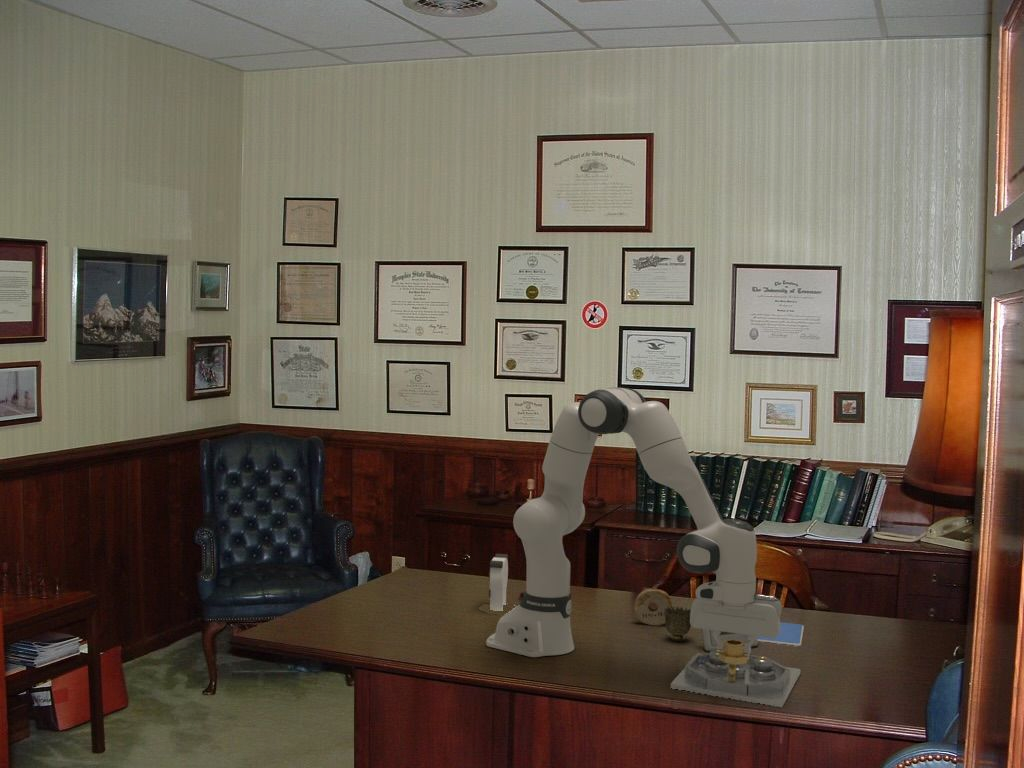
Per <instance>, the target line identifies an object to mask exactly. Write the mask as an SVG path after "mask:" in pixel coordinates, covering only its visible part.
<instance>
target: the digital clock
mask: <svg viewBox="0 0 1024 768" xmlns="http://www.w3.org/2000/svg"><path fill="white" fill-rule="evenodd" d="M700 631H701V635H702V642H703V643H702V644H703V647H704V650H705V651H707V652H710V651H711V650H716V649H717V642H716V640H715V638H714V636H713V630H707V629H700ZM719 636H720V638H721V640H722V641H725V640H731V639H733V640H740V641H742V642H744V643H745V644H747V645H748V644H749V642H750V641H751V640H749V639H748V635H744V634H737V633H729V632H722V631H721V633H720V634H719ZM758 644H759V642H758V640H757V636H756V639H755V641H754V642H753V644H752V645H751V648H752V647H756V646H757V645H758Z"/></svg>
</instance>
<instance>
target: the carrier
mask: <svg viewBox="0 0 1024 768" xmlns="http://www.w3.org/2000/svg"><path fill="white" fill-rule="evenodd" d="M720 651H721V650H717V649H716V650H711V651H709V653H698V652H697V654H695V655H693V656H692V658H690V660H689V661H688V662H687V663H686V664H685V665H684V668H683V669H682V670H681V672H679V674H678V675H677V676H676V677H675V678H674V679H673V680H672V682H671V683H670V689H671V688H672V689H671V690H675V689H678V690H677V691H681V690H686V691H685V692H687V691H690V692H689V693H693V692H695V693H694V694H698V693H701V694H700V695H704V694H707V695H706V696H710V695H711V696H712V697H716V696H718V697H717V698H722V697H723V699H728V698H731V699H730V700H734V699H735V700H734V701H740V700H741V702H745V701H746V702H747V703H751V702H752V703H753V704H757V703H760V704H759V705H763V704H765V705H764V706H769V705H770V707H775V708H781V709H782V708H783V707H784V705H785V703H786V701H787V700H788V698H789V695H790V694H791V692H792V690H793V688H794V686H795V684H796V683H797V681H798V679H799V677H800V675H801V669H800V668H796V667H795V668H794V667H788V666H784V665H783V664H780V663H778V662H776V661H775V660H773V659H772V658H771V657H768V656H764V655H754V654H749V661H748V662H747V663H746V664H737V665H736V664H729V663H724V662H722V661H721V660H719V659H718V655H719V652H720ZM711 696H710V697H711Z"/></svg>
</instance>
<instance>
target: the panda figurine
mask: <svg viewBox="0 0 1024 768" xmlns="http://www.w3.org/2000/svg"><path fill="white" fill-rule="evenodd" d="M508 559H509V554H507V553H495V556H493V558H492V559H491V560H490V562H489V572H488V580H489V581H488V582H489V589H488V598H489V603H490V610H493V611H503V605H506V603H507V586H508V585H507V584H508V576H509V562H508V561H509V560H508Z"/></svg>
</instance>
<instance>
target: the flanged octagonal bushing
mask: <svg viewBox="0 0 1024 768" xmlns="http://www.w3.org/2000/svg"><path fill="white" fill-rule="evenodd" d="M744 644H745V643H744V642H742V641H740V640H733V639H731V640H725V641H724V650H723V651H722V650H721V651H720V652H719V655H718V659H719V660H721V661H722V662H724V663H729V664H736V665H737V664H746V663H747V662H748V661H749V655H750V654H743V646H744Z"/></svg>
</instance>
